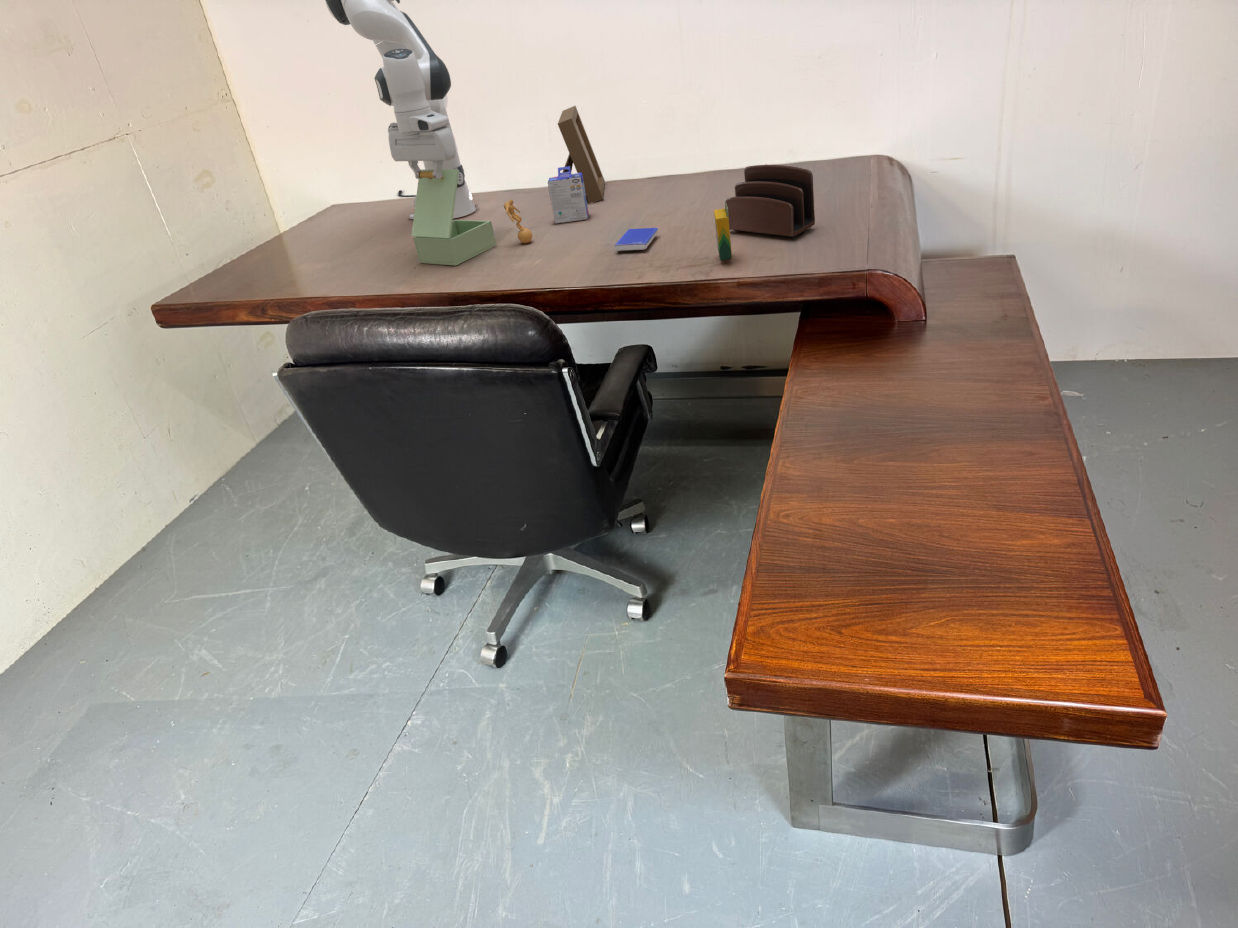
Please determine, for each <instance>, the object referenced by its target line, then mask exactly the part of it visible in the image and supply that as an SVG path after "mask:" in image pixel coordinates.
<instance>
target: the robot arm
mask: <svg viewBox="0 0 1238 928" xmlns="http://www.w3.org/2000/svg"><path fill="white" fill-rule="evenodd" d="M394 1H396V3H397V4H398V5H399V4H400V3H401V0H325V5H326V8H327V10H328V12H329V13H330V15H331V16H332V18H334V19H335V20H336V21H337V22H338V23H339V24H340V25H344V26H351V27H352V29H353V30H354V31H355V32H356V34H358V35H359V36H360V37H362V38H364V39H365V40H366V39H367V40H370V41H372V43H373V44H374V45H375V48H376V49H377V51H378V53H379V55H380V56H381V59H382V63H383V64H382V65H383V66H382V67H380V68H379V69H378V70H377V72H376V74H375V76H374V81H375V85H376V88H377V92H378V97H379V100H380V101H381V102H382V103H384V104H385V105H387V106H389V107H393V113H394V117H395V121H396V122H391V123H389V125H388V128H387V133H388V144H389V150H390V155H391V158H392V160H393V161H394V162H407V164H408V166H409V168H410V169H411V170H412V172H413V173H414V177H415V179H416V180H418V179H422V178H421V177H420V175H419V174H420V172H421V171H423V170H425V169H435V170H434V172H432V173H433V177H434V179H440V178H442V172H441V169H458V170H459V175H458V183H457V191H456V199H455V207H454V214H453V220H455V219H458V218H461V217H465V216H468V215H471V214H473V213H474V212H476V211H477V207H476V203H475V202H474V201H473V196H472V193H471V192H470V189H469V187H468V184H467V183H468V182H467V181H466V179H465V177H466V175H465V169H464V167H463V165H462V164H461V159H460V156H459V150H458V146H457V143H456V138H455V136H454V132H453V129H452V126H451V122H450V119H449V115H448V112H447V107H448V95H447V94H448V93H449V92H450V89H451V87H452V80H451V79H452V78H451V75H450V72H449V70H448V69H449V68H448V67H447V65H446V64H445V62H444V61H443V60H442V59H441V58H440V57H439V55H437V54H436V52H435V51H434V49H433V48H432V46H431V45H430V43H428V41H427V40H426V38H425V37H424V35H423V34H422V33H421V31H420V30H419V28H418V26H417V25H416V24H415V23H414V21H413V20H412V19H411V18H410V16H409V15H408V14H407V13H406V12H404V11H402V10H399V8H398V7H397V5H396V4H395V2H394ZM419 162H423V167H424V169H421V168H420V166H419ZM402 193H403V190H401V189H400V190H398V193H397V195H398V197H399V198H413V205H414V207H415V204H416V196H417V194H410V195H409V194H407V195H406V194H405V195H403V194H402ZM409 219H410V220H414V212H412V213H411V214H409Z"/></svg>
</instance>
